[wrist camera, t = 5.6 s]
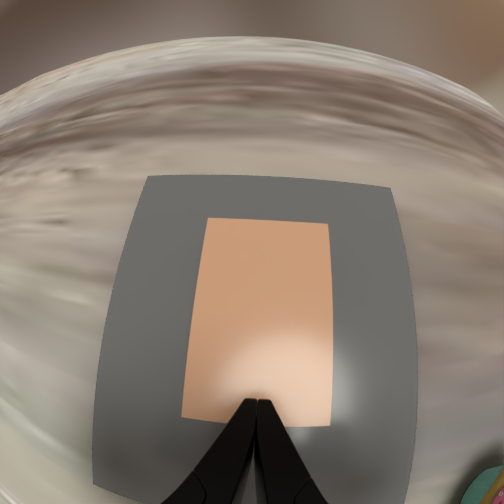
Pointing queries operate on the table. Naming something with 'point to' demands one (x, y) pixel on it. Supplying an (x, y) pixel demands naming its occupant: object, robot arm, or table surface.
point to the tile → (262, 322)
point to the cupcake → (486, 488)
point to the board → (179, 324)
